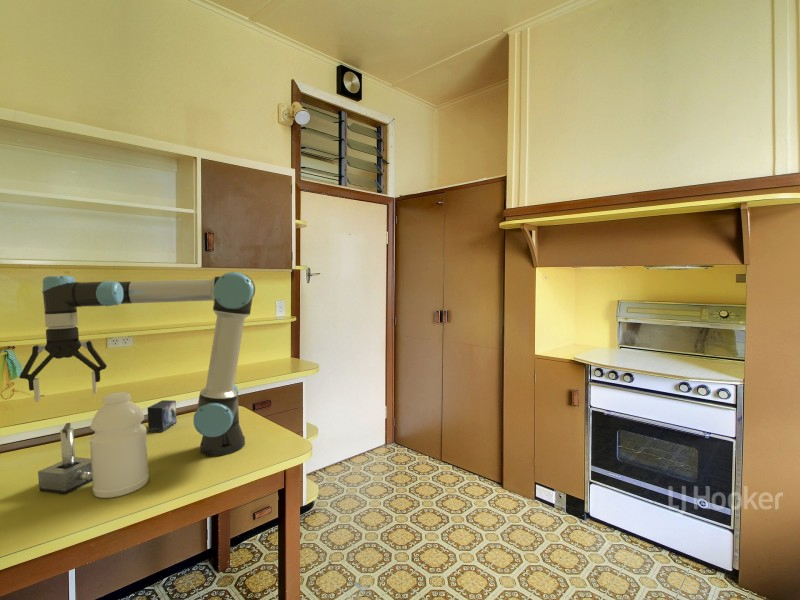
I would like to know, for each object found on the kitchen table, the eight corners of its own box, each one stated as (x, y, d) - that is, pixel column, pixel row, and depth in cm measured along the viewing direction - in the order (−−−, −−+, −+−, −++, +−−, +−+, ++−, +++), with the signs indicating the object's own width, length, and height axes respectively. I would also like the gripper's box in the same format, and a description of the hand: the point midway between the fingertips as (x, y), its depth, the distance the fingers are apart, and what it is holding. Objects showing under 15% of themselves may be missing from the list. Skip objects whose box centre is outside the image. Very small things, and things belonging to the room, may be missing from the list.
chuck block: (104, 478, 126) (103, 459, 126) (72, 495, 117) (70, 475, 116) (73, 475, 129) (72, 456, 129) (39, 491, 119) (37, 471, 119)
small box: (163, 432, 165) (161, 407, 164) (147, 432, 165) (146, 407, 164) (177, 423, 175) (176, 399, 175) (163, 423, 175) (161, 400, 175)
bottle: (86, 503, 112) (79, 404, 111) (100, 481, 125) (94, 392, 123) (145, 492, 118) (139, 397, 116) (152, 471, 130) (148, 386, 129)
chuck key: (74, 484, 121) (70, 428, 120) (61, 487, 119) (57, 430, 119) (77, 475, 127) (74, 422, 126) (65, 477, 125) (62, 424, 125)
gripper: (113, 322, 131) (117, 387, 132) (9, 329, 118) (15, 401, 119) (111, 324, 125) (116, 392, 126) (1, 332, 112) (7, 407, 113)
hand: (67, 396), depth 123 cm, fingers open, 13 cm apart
